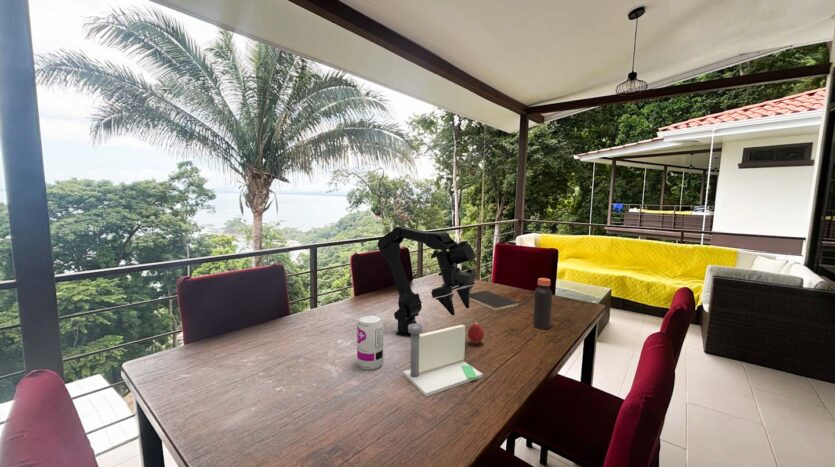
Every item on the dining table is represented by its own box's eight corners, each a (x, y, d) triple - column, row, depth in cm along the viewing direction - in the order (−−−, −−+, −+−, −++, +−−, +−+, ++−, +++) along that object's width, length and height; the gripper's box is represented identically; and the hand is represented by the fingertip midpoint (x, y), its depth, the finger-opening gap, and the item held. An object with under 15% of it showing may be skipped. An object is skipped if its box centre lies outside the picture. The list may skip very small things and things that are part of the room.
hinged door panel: (412, 379, 99) (412, 329, 97) (405, 373, 102) (405, 324, 100) (466, 362, 109) (468, 317, 107) (458, 357, 112) (460, 313, 110)
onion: (483, 347, 122) (484, 326, 121) (467, 346, 123) (467, 324, 122) (483, 341, 128) (484, 320, 127) (468, 339, 129) (468, 318, 128)
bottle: (547, 323, 145) (550, 277, 143) (552, 330, 139) (555, 281, 136) (531, 322, 146) (533, 277, 144) (535, 329, 139) (537, 281, 137)
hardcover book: (494, 312, 161) (494, 307, 160) (464, 298, 180) (464, 294, 180) (519, 306, 169) (519, 302, 168) (487, 294, 188) (487, 290, 188)
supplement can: (362, 373, 104) (361, 325, 102) (354, 361, 111) (353, 316, 109) (387, 367, 108) (387, 321, 106) (377, 356, 115) (377, 312, 113)
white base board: (428, 398, 91) (428, 394, 91) (402, 374, 103) (402, 370, 103) (485, 378, 102) (486, 374, 102) (457, 358, 114) (457, 354, 114)
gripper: (451, 266, 107) (465, 315, 105) (480, 258, 121) (493, 301, 119) (424, 274, 114) (437, 320, 112) (455, 265, 128) (467, 306, 126)
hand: (460, 311), depth 117 cm, fingers open, 9 cm apart
